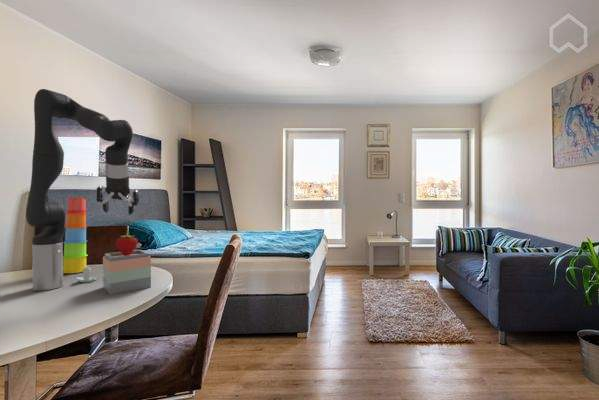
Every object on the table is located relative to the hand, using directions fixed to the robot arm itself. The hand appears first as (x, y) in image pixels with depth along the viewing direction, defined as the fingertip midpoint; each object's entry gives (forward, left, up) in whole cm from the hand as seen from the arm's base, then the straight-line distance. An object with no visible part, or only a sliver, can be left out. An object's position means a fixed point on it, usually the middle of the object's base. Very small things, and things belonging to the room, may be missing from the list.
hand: (118, 212), depth 123 cm
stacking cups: (-10, +41, -29) cm, 51 cm away
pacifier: (-8, +17, -29) cm, 35 cm away
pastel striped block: (+2, -3, -29) cm, 29 cm away
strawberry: (+2, -3, -17) cm, 18 cm away
